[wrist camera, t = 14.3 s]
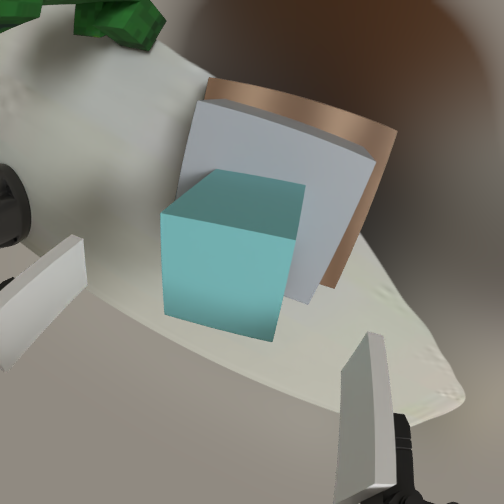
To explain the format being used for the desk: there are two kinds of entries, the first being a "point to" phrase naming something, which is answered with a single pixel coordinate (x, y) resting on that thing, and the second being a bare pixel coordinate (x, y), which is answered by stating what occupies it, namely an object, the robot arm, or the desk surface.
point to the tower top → (283, 175)
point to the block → (230, 251)
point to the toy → (95, 19)
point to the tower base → (329, 120)
